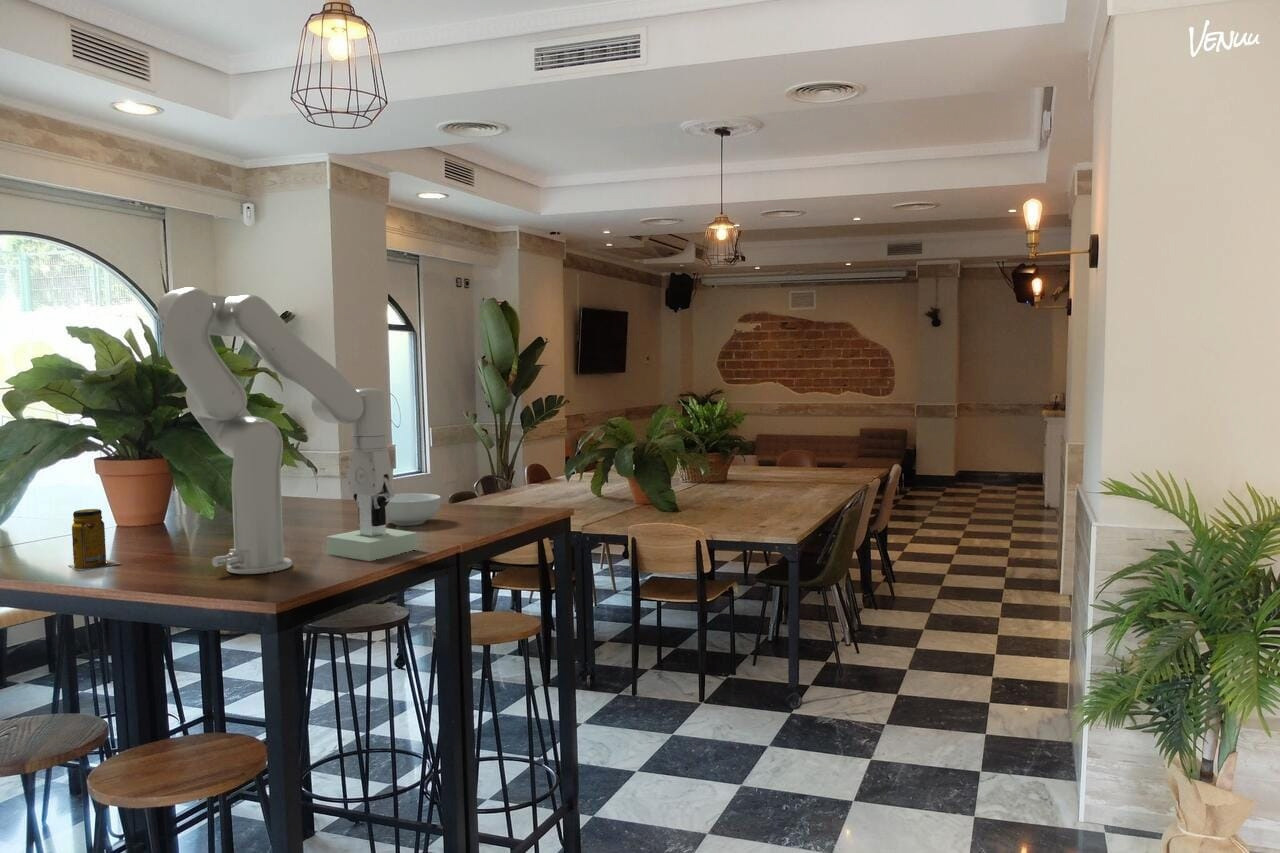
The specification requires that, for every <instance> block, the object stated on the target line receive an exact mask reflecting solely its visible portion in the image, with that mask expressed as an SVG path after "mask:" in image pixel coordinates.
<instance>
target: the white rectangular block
mask: <svg viewBox="0 0 1280 853" xmlns="http://www.w3.org/2000/svg"><path fill="white" fill-rule="evenodd" d="M378 494H381V493H378ZM378 498H379V500H380V499H381V496H380V497H378ZM374 508H375V507H374V501H373V496H370V495H360V494H359V512H358V520H359V519H360V524H359V530H360V536H362V537H369V538H372V537H377V536H382V535H386V528H387V524H385V525H381V526H376V527H375V526H373V509H374Z"/></svg>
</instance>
